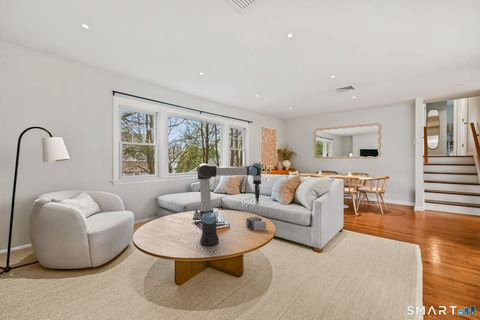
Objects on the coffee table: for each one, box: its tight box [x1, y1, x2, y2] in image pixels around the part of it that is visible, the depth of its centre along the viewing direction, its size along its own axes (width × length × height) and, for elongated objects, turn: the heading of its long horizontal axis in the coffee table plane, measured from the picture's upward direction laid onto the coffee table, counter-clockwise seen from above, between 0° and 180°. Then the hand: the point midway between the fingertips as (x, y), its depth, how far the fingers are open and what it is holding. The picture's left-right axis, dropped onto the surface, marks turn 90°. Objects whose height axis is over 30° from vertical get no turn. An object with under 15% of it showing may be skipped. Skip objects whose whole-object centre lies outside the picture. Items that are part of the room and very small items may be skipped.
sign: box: [192, 209, 200, 221], centre depth 224 cm, size 22×3×20 cm, turn 94°
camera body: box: [245, 215, 263, 231], centre depth 205 cm, size 14×9×10 cm, turn 127°
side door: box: [252, 220, 267, 232], centre depth 198 cm, size 12×2×8 cm, turn 92°
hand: (257, 204), depth 198 cm, fingers closed
